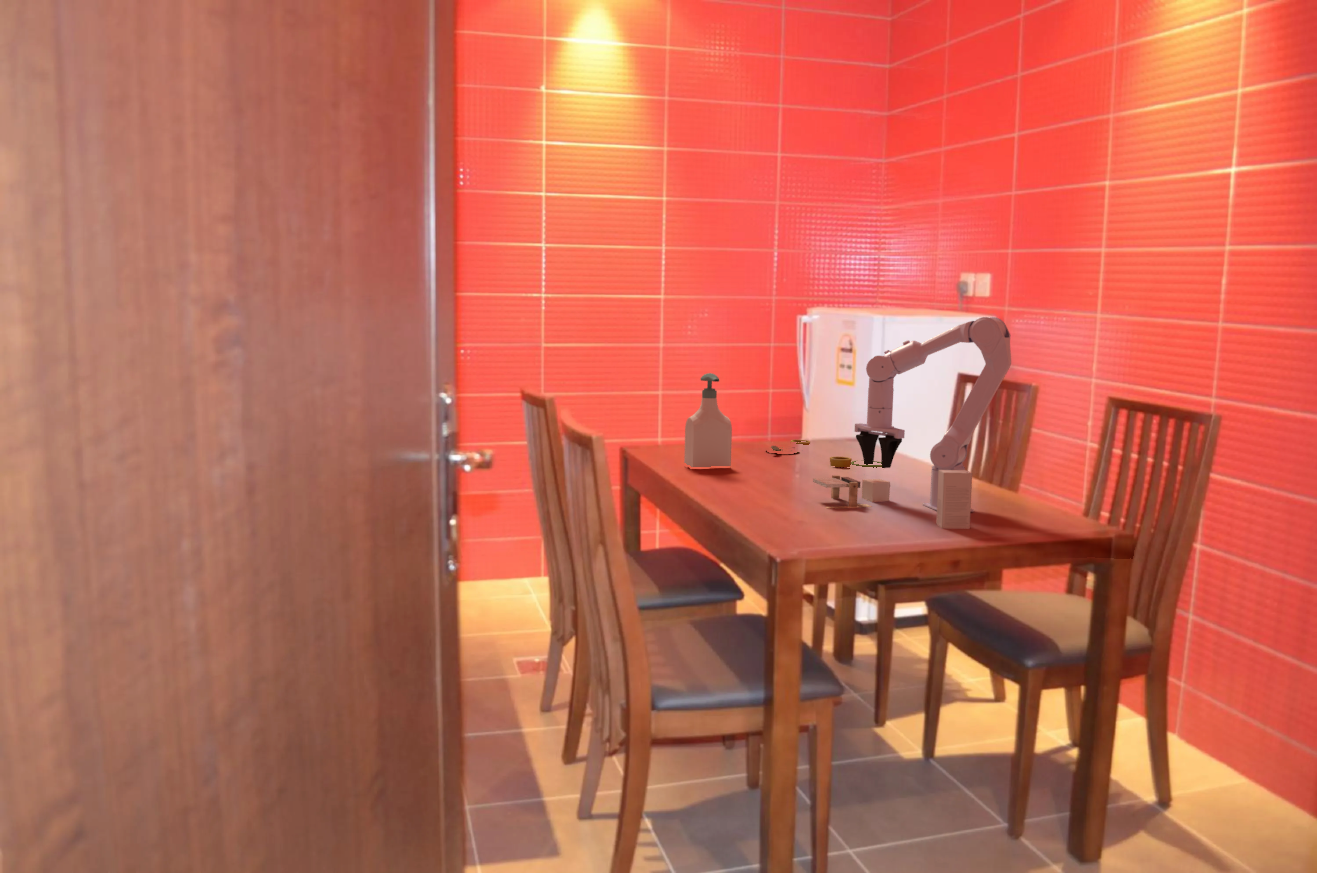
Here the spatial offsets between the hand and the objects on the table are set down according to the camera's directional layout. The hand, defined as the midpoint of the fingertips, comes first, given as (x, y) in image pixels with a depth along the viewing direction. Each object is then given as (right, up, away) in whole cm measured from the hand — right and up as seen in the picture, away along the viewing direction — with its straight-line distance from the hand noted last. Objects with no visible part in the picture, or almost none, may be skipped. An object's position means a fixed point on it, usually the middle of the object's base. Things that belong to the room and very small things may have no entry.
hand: (877, 466), depth 246 cm
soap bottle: (-38, -4, +39) cm, 54 cm away
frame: (-8, -9, -3) cm, 13 cm away
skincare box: (+11, -12, -25) cm, 30 cm away
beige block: (0, -9, +1) cm, 9 cm away
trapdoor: (-10, -4, -4) cm, 12 cm away
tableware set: (-4, -2, +61) cm, 61 cm away
